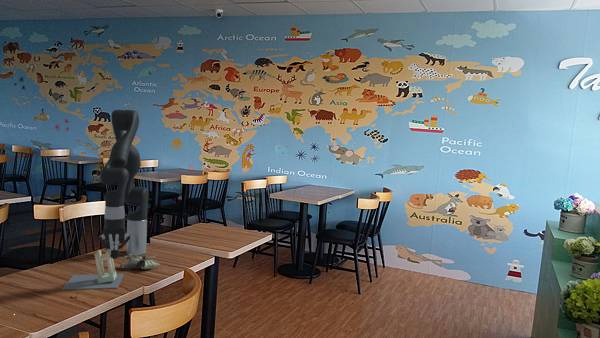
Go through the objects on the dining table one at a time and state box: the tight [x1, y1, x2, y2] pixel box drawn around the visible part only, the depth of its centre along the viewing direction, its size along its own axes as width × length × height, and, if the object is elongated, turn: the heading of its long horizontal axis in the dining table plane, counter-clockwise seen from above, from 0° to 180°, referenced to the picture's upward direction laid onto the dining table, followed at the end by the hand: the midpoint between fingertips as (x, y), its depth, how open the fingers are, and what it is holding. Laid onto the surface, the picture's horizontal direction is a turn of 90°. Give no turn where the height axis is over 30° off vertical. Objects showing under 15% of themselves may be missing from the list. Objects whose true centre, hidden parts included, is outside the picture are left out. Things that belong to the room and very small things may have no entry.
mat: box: [61, 273, 125, 291], centre depth 181 cm, size 16×20×1 cm
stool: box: [94, 249, 118, 284], centre depth 182 cm, size 6×6×12 cm
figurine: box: [118, 254, 164, 271], centre depth 202 cm, size 20×6×17 cm
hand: (114, 258), depth 182 cm, fingers closed
